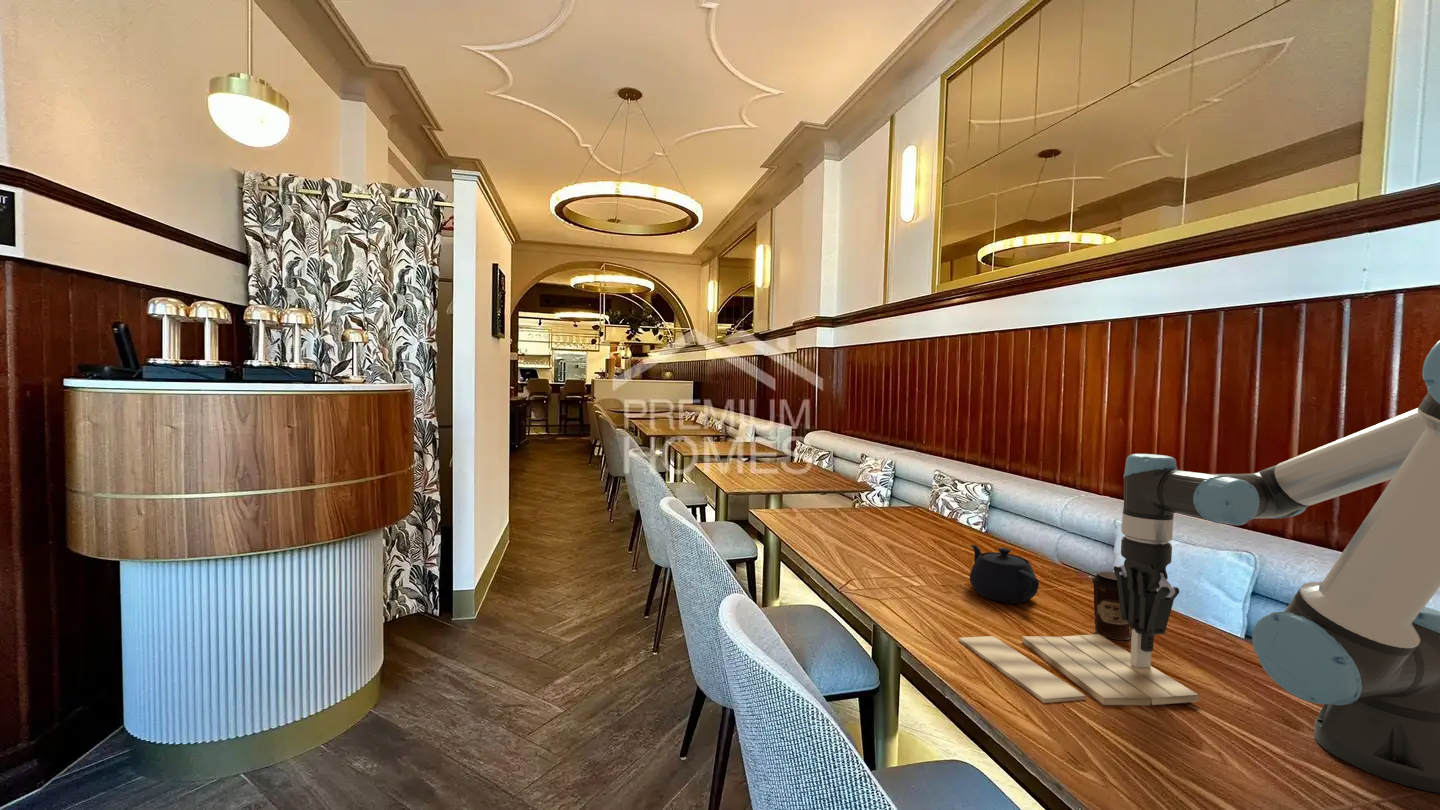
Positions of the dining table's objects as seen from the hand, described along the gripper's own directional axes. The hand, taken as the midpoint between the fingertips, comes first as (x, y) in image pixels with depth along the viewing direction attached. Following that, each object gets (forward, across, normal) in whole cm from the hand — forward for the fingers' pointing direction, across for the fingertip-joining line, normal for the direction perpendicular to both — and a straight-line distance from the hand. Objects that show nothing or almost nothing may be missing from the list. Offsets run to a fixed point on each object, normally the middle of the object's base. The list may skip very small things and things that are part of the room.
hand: (1140, 665), depth 108 cm
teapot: (+2, +42, +4) cm, 42 cm away
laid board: (+2, +2, +10) cm, 11 cm away
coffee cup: (+2, +18, -8) cm, 20 cm away
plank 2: (+1, +2, +2) cm, 3 cm away
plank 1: (+2, +3, +22) cm, 22 cm away
